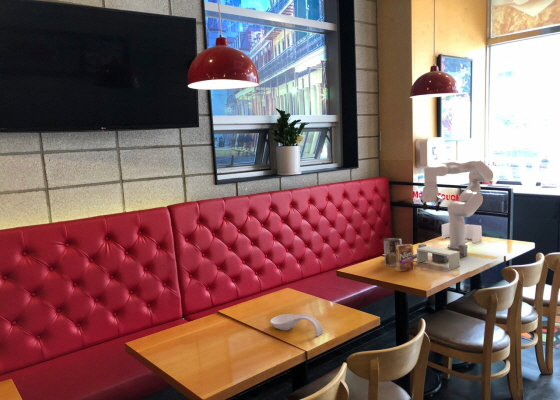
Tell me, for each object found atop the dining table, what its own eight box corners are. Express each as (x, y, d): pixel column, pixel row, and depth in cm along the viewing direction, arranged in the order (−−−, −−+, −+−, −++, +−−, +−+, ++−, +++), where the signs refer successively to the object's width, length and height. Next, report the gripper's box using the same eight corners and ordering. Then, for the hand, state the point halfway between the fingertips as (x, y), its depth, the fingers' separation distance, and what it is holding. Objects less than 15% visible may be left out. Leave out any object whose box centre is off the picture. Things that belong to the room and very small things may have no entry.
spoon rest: (265, 330, 187) (264, 313, 186) (280, 320, 197) (279, 304, 196) (313, 341, 174) (312, 323, 173) (327, 329, 184) (326, 313, 183)
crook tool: (453, 253, 288) (453, 243, 287) (467, 256, 280) (467, 245, 279) (432, 260, 276) (431, 249, 275) (445, 263, 268) (445, 251, 267)
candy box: (398, 271, 257) (397, 246, 255) (396, 269, 261) (395, 244, 259) (413, 270, 257) (413, 244, 255) (411, 268, 261) (410, 243, 259)
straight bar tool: (422, 254, 292) (421, 243, 291) (426, 255, 289) (426, 244, 288) (406, 258, 283) (406, 248, 282) (411, 259, 280) (410, 249, 279)
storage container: (481, 240, 319) (481, 225, 318) (473, 243, 312) (473, 228, 311) (450, 236, 339) (449, 222, 337) (441, 239, 332) (441, 224, 331)
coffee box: (399, 263, 275) (398, 237, 273) (401, 265, 268) (400, 239, 266) (384, 263, 276) (383, 238, 274) (385, 266, 269) (384, 240, 267)
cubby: (426, 259, 279) (426, 245, 278) (459, 266, 259) (459, 251, 258) (417, 262, 274) (416, 248, 273) (450, 269, 254) (450, 254, 253)
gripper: (416, 184, 294) (416, 210, 297) (438, 185, 280) (439, 212, 282) (423, 183, 299) (424, 208, 301) (445, 184, 284) (446, 210, 286)
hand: (431, 210), depth 291 cm, fingers open, 9 cm apart
